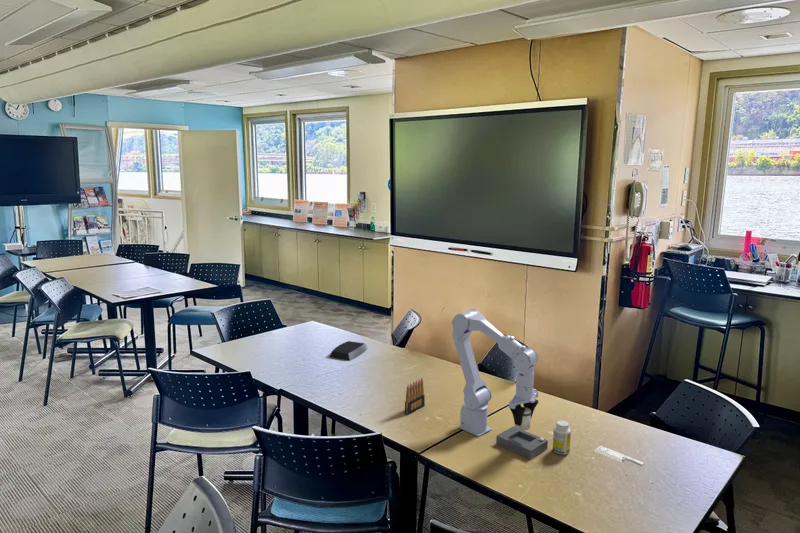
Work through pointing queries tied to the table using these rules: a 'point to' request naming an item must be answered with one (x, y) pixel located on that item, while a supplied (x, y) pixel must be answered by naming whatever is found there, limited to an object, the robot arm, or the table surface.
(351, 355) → the external hard drive
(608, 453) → the white plastic blade
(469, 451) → the table surface
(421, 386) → the ammunition clip
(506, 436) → the grey panel with knob
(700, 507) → the table surface
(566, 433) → the supplement bottle
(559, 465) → the table surface
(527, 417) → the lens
